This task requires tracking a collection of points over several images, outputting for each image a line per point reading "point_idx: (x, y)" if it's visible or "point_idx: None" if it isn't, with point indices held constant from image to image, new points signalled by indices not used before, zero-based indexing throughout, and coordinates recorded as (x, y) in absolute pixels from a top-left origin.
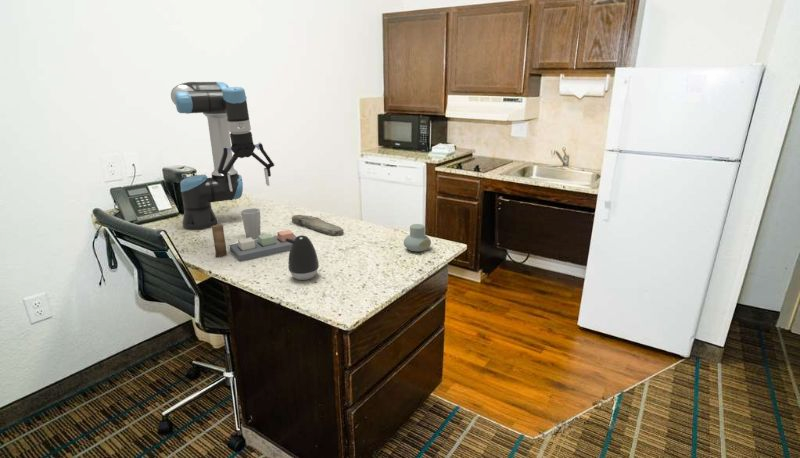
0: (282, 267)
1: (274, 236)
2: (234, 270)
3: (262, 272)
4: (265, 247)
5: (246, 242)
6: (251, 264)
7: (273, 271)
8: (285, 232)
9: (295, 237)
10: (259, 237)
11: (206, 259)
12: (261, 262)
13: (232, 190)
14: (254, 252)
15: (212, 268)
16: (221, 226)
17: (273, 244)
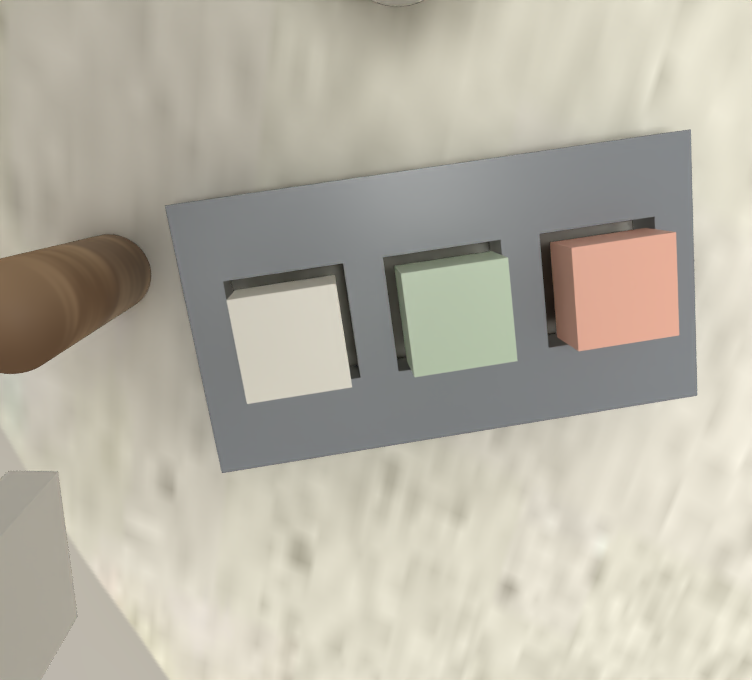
0: (448, 639)
1: (542, 164)
2: (183, 573)
3: (330, 661)
4: (418, 392)
5: (286, 396)
6: (290, 525)
7: (389, 671)
8: (628, 292)
9: (678, 273)
10: (405, 307)
11: None
12: (353, 519)
13: (67, 628)
14: (328, 454)
15: None
16: (49, 347)
17: None
